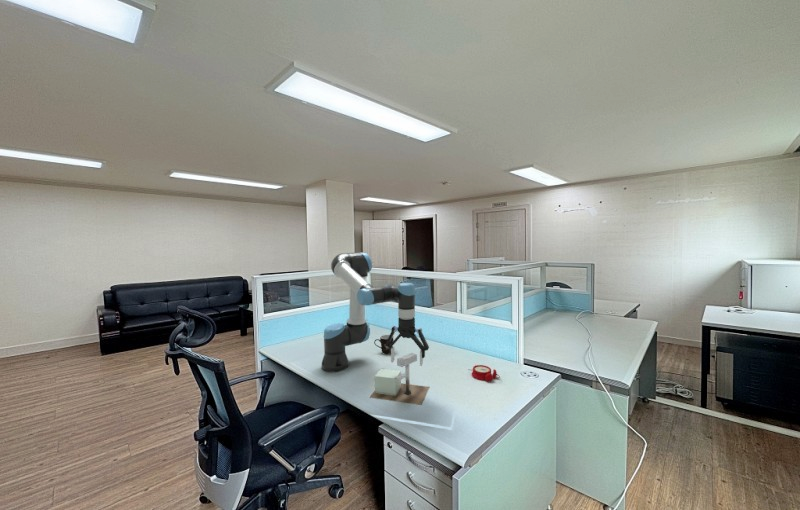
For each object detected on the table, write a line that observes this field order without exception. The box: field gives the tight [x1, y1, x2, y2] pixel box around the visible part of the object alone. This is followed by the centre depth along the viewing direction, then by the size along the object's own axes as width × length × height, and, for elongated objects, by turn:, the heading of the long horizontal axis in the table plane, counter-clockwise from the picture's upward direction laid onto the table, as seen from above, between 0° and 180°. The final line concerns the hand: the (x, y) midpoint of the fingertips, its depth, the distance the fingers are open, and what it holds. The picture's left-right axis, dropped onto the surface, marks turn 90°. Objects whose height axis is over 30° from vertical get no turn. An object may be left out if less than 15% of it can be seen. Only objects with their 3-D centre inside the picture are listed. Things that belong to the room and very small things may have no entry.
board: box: [369, 382, 430, 406], centre depth 140 cm, size 24×16×2 cm
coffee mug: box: [374, 334, 394, 355], centre depth 193 cm, size 12×9×10 cm
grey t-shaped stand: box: [395, 352, 418, 392], centre depth 138 cm, size 12×3×16 cm, turn 135°
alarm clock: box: [468, 364, 501, 383], centre depth 156 cm, size 10×6×15 cm
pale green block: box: [374, 368, 402, 396], centre depth 142 cm, size 10×8×8 cm
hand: (406, 363), depth 139 cm, fingers open, 13 cm apart
